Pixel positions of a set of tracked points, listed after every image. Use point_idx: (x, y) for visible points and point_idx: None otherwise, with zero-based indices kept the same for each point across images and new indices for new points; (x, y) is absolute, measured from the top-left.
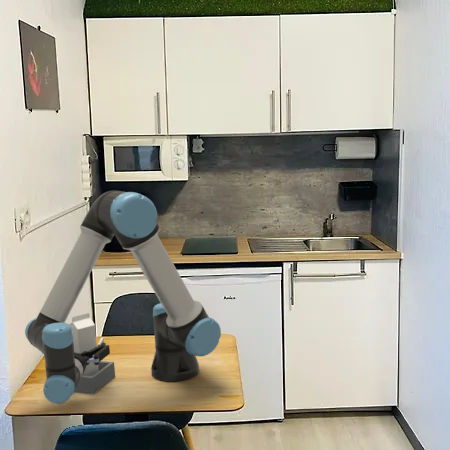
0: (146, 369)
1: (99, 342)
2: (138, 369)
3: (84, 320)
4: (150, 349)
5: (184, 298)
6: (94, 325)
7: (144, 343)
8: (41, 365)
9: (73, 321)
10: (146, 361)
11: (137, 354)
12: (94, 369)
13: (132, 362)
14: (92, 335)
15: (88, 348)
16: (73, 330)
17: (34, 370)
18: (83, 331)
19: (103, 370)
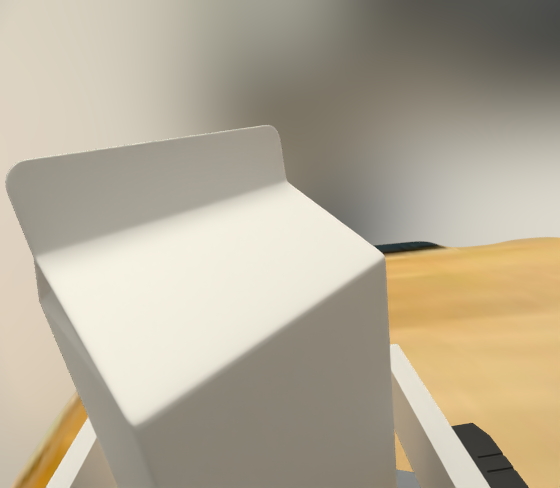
0: (550, 436)
1: (448, 455)
2: (507, 437)
3: (238, 214)
4: (419, 302)
5: None
6: (381, 266)
7: None
8: (79, 416)
9: (55, 242)
10: (475, 366)
11: (399, 327)
12: None
13: (423, 376)
14: (366, 394)
15: None
16: (87, 388)
17: (37, 461)
18: (261, 404)
19: None
